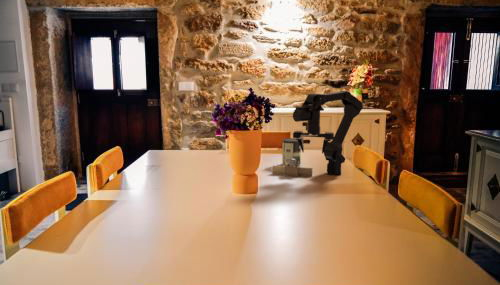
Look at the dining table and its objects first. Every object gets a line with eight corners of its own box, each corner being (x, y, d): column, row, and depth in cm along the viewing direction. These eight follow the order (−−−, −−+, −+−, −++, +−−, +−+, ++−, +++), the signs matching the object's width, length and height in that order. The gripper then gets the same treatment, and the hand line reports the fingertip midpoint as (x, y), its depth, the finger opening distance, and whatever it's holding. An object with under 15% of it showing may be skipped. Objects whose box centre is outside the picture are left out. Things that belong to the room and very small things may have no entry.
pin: (295, 174, 183) (295, 158, 182) (294, 175, 180) (294, 160, 179) (289, 173, 184) (289, 158, 183) (288, 175, 181) (288, 159, 180)
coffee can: (299, 162, 208) (300, 138, 205) (301, 167, 197) (302, 141, 195) (281, 162, 208) (281, 138, 205) (282, 167, 198) (282, 141, 195)
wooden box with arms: (312, 174, 183) (313, 164, 182) (311, 178, 176) (311, 167, 176) (274, 171, 188) (274, 162, 187) (271, 175, 182) (271, 165, 181)
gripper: (335, 119, 178) (333, 150, 181) (296, 117, 183) (296, 148, 186) (333, 121, 168) (332, 155, 170) (293, 120, 173) (292, 153, 176)
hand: (312, 152), depth 176 cm, fingers open, 9 cm apart
